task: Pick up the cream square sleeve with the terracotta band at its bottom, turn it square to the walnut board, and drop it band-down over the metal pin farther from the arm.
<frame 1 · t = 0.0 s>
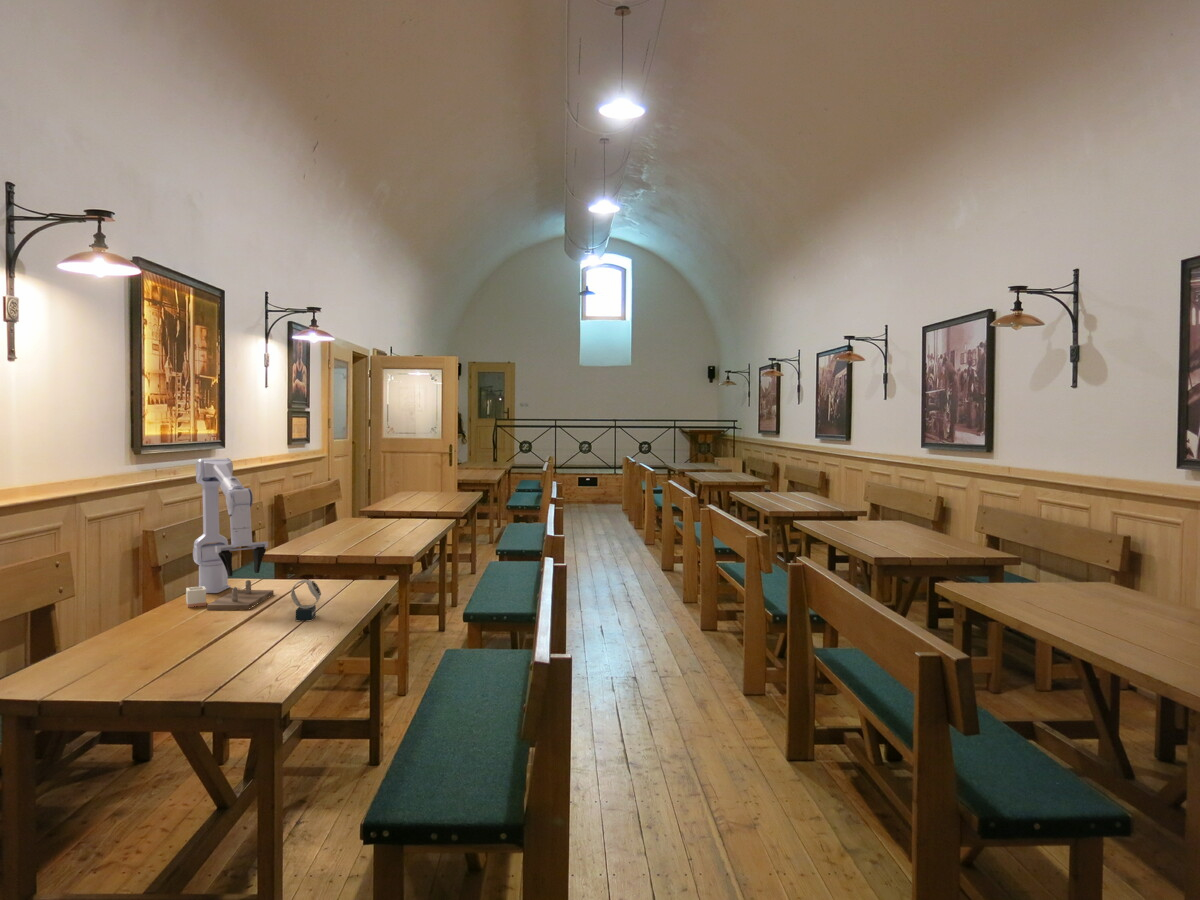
hand: (243, 574, 231), 11 cm above the table, tool pointing down, fingers open, 7 cm apart
pin board: (241, 601, 240), on the table
watch: (306, 619, 222), on the table
sleeve: (196, 604, 236), on the table
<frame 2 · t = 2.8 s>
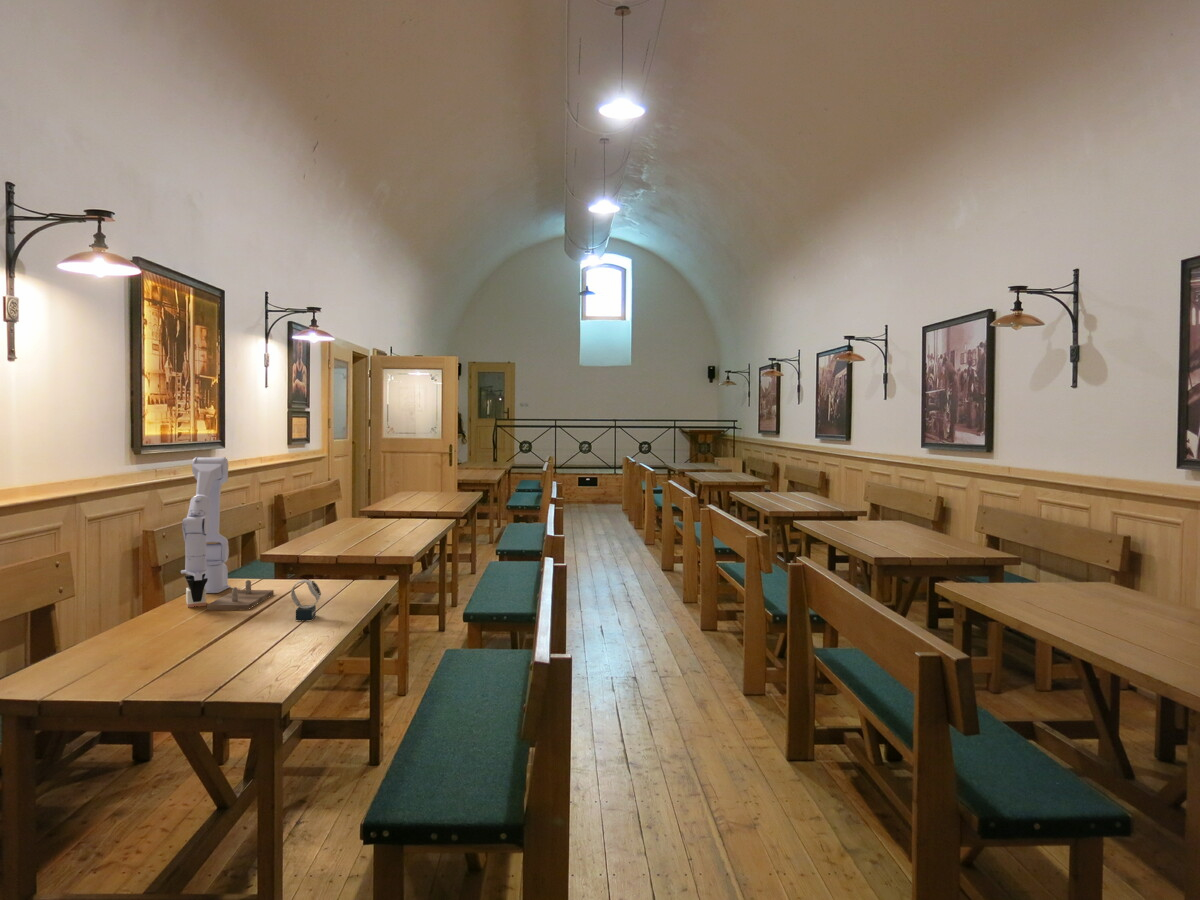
hand: (196, 599, 235), 2 cm above the table, tool pointing down, fingers closed on sleeve, 5 cm apart
sleeve: (196, 604, 236), on the table, touching gripper
everything else where it was.
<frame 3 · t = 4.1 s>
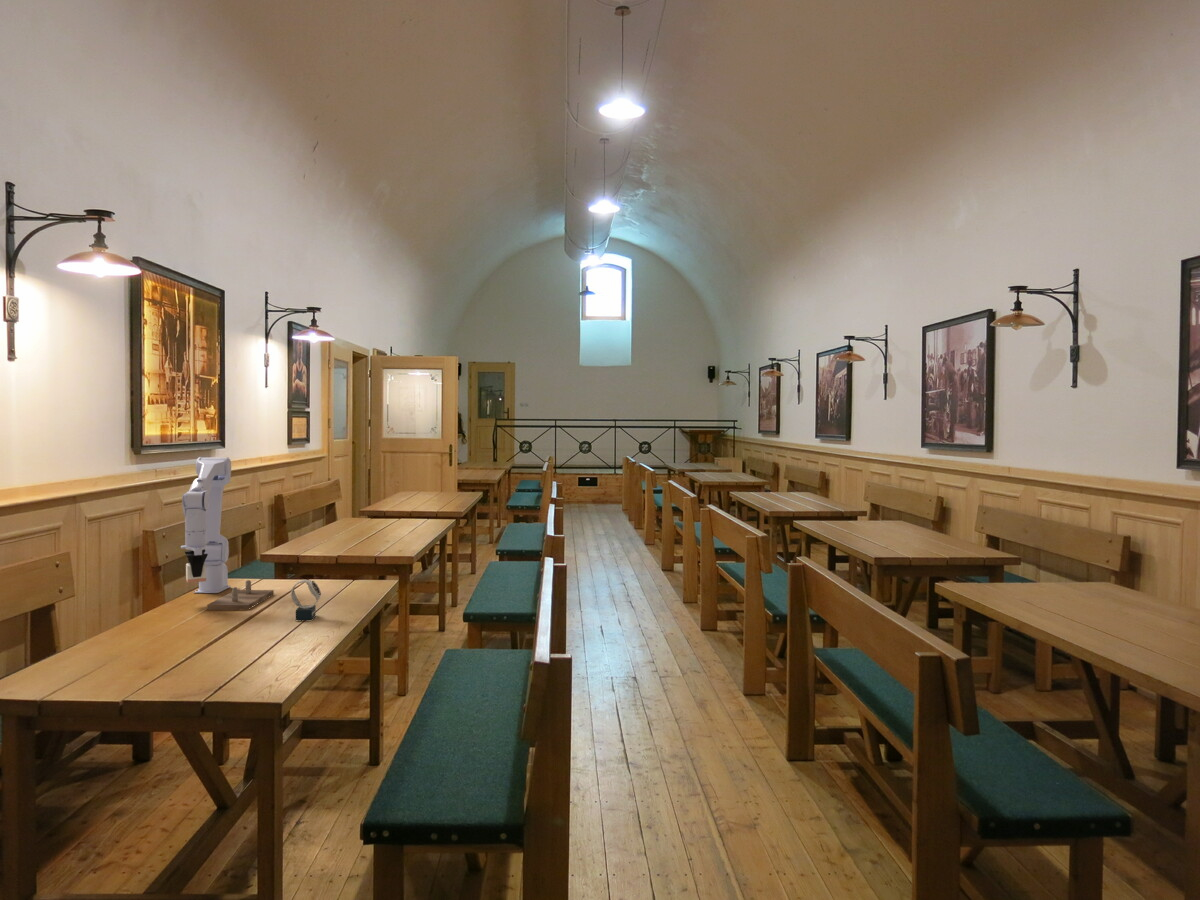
hand: (196, 575, 235), 9 cm above the table, tool pointing down, fingers closed on sleeve, 5 cm apart
sleeve: (196, 580, 235), point 8 cm above the table, touching gripper
everything else where it was.
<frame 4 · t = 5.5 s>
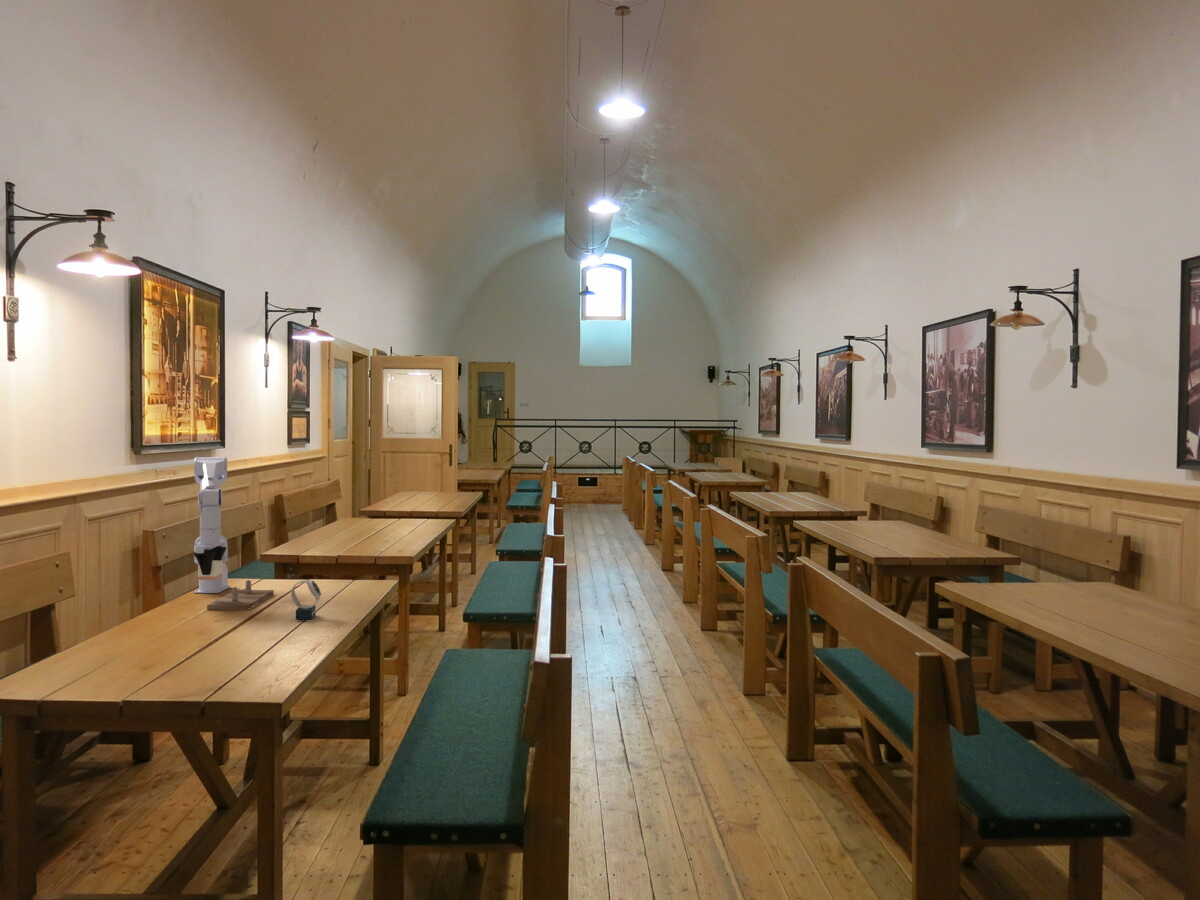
hand: (210, 572, 235), 10 cm above the table, tool pointing down, fingers closed on sleeve, 5 cm apart
sleeve: (210, 578, 235), point 8 cm above the table, touching gripper
everything else where it was.
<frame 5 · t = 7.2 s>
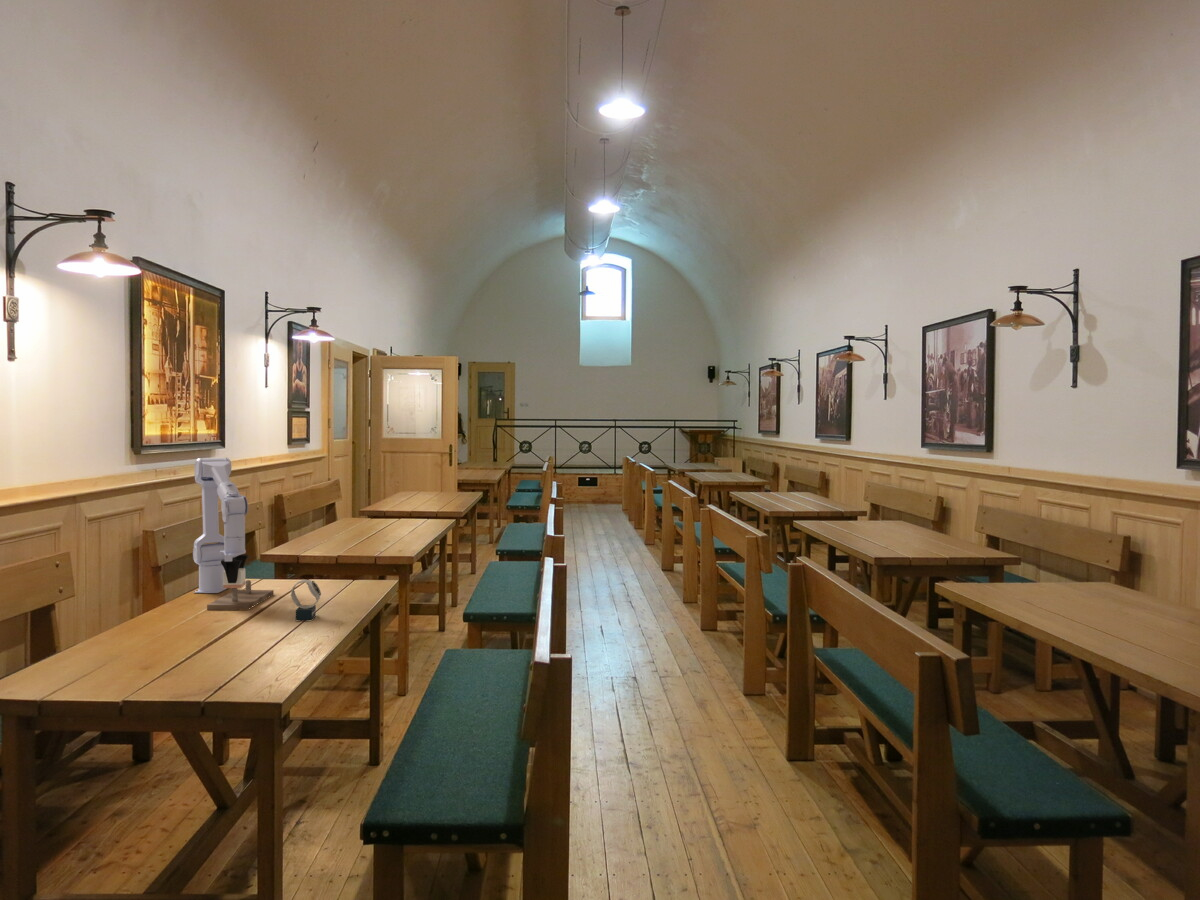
hand: (234, 580, 235), 8 cm above the table, tool pointing down, fingers closed on sleeve, 5 cm apart
sleeve: (234, 586, 235), point 6 cm above the table, touching gripper
everything else where it was.
when the fingers open (4 cm above the table, at t = 8.4 s): sleeve drops 1 cm, resting on pin board.
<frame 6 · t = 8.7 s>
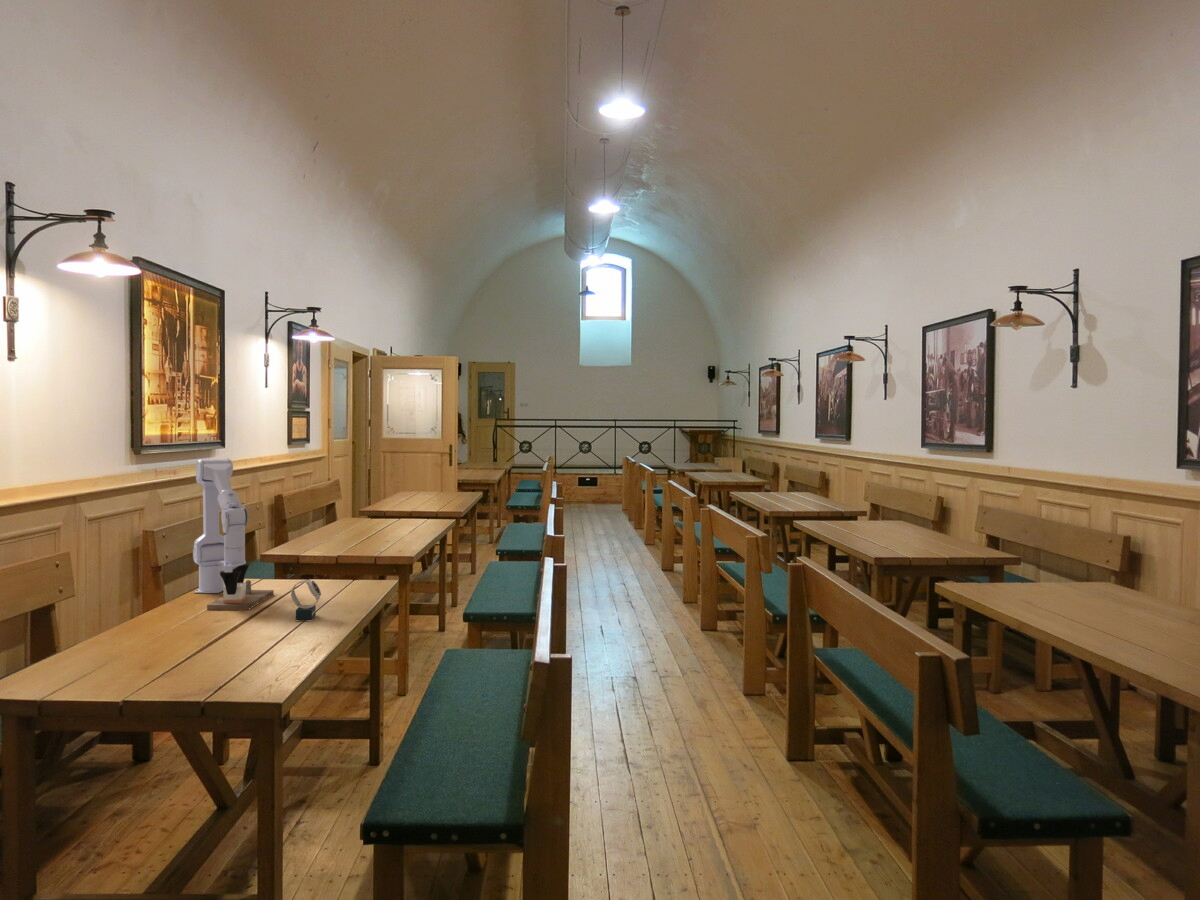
hand: (234, 591, 235), 4 cm above the table, tool pointing down, fingers open, 7 cm apart
sleeve: (234, 600, 235), point 1 cm above the table, touching pin board
everything else where it was.
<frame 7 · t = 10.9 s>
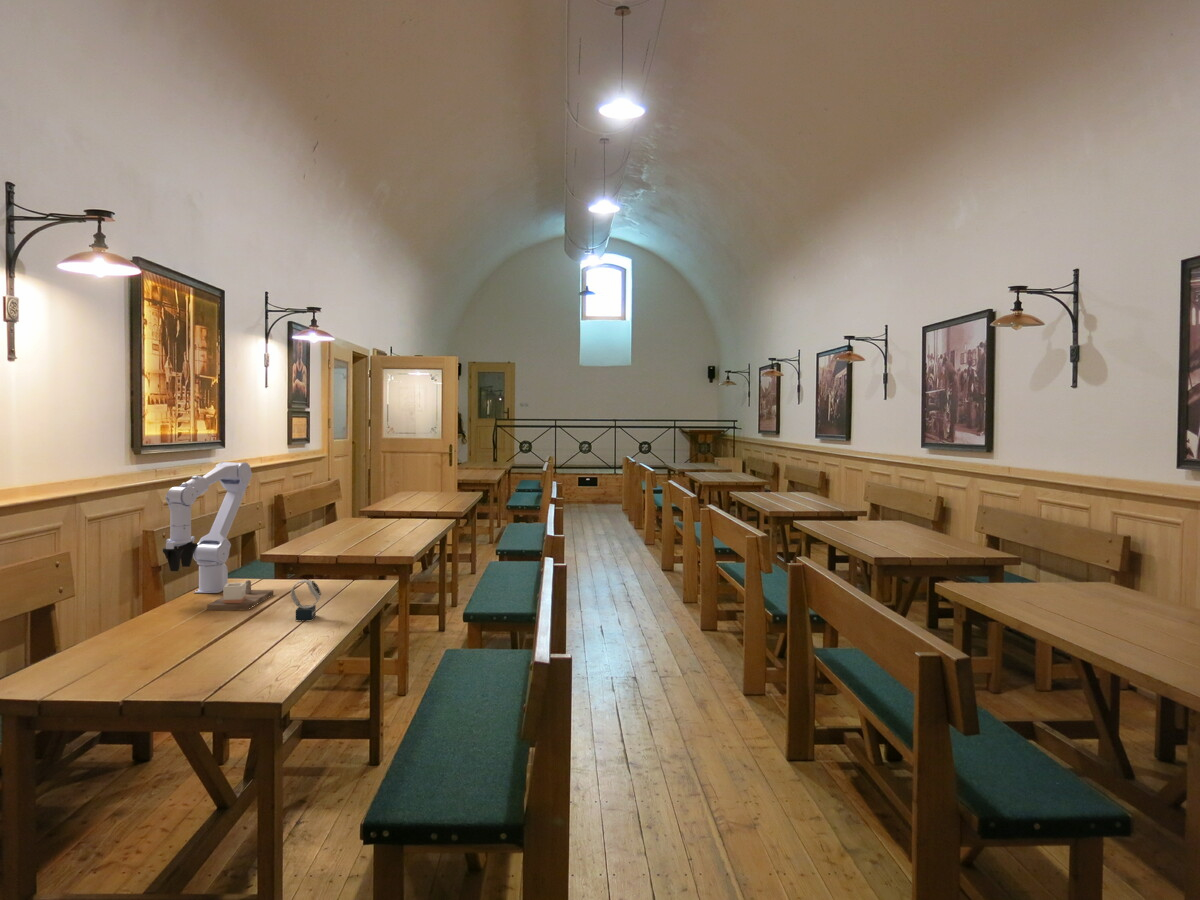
hand: (180, 568, 241), 10 cm above the table, tool pointing down, fingers open, 7 cm apart
nothing on the table moved.
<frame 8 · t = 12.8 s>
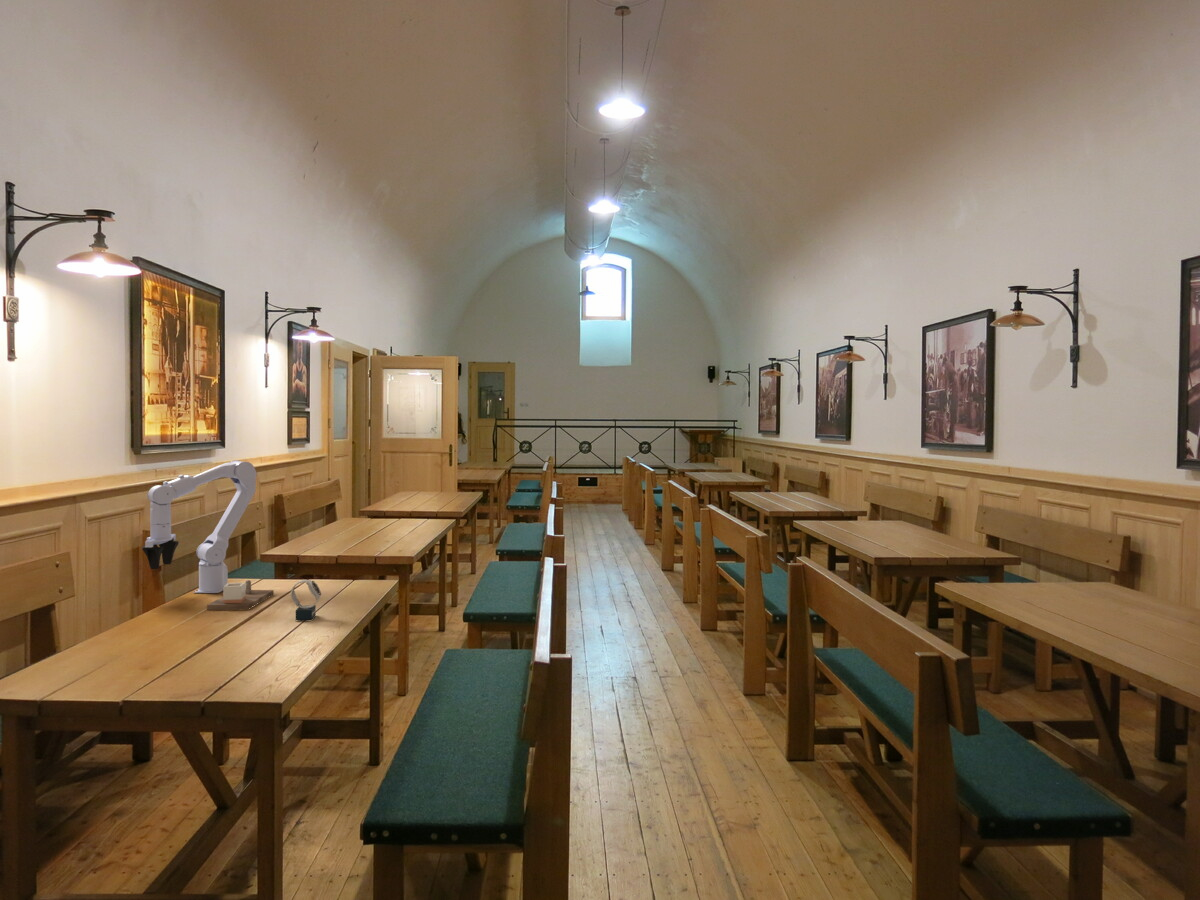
hand: (161, 566, 243), 10 cm above the table, tool pointing down, fingers open, 7 cm apart
nothing on the table moved.
at the end: sleeve 0.1 cm from the target spot on the pin board, point 1.5 cm above the pin board's base; sleeve tilted 0°; the gripper is holding nothing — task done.
